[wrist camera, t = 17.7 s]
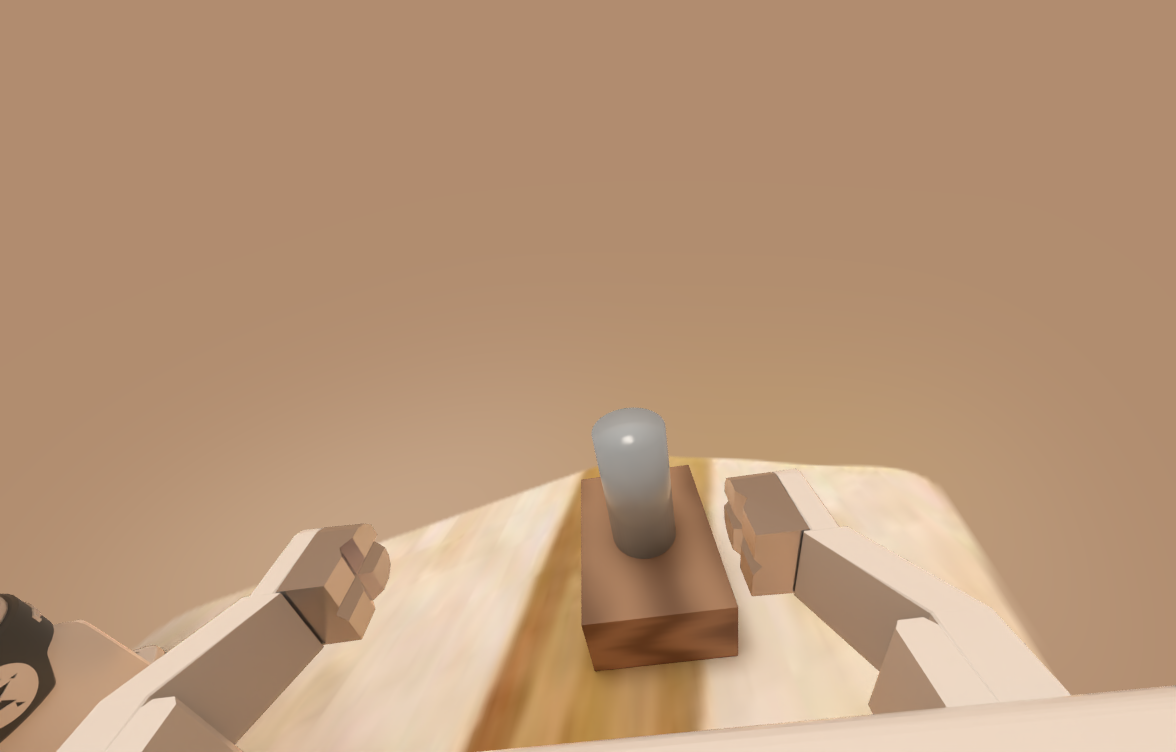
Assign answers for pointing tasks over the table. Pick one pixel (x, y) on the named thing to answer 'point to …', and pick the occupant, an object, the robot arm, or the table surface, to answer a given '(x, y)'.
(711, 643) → the walnut block
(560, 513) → the table surface
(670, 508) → the metal cylinder
